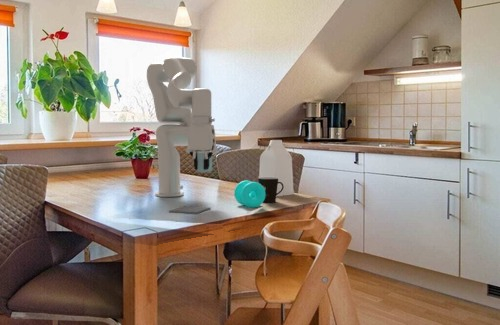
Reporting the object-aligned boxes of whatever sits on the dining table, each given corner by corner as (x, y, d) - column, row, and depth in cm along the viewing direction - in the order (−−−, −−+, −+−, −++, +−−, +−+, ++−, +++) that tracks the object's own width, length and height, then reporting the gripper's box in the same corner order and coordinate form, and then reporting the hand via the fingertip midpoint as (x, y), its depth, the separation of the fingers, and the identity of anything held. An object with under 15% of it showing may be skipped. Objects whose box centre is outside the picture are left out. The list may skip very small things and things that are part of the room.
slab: (205, 170, 189) (205, 150, 188) (212, 171, 188) (211, 150, 187) (197, 172, 182) (197, 151, 182) (204, 172, 181) (204, 151, 181)
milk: (275, 198, 213) (275, 140, 211) (258, 195, 221) (258, 140, 220) (293, 195, 220) (294, 140, 219) (276, 193, 229) (276, 140, 228)
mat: (184, 207, 182) (184, 206, 182) (210, 209, 179) (210, 207, 179) (169, 212, 171) (169, 210, 171) (196, 213, 167) (196, 212, 167)
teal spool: (242, 208, 180) (242, 182, 179) (233, 205, 189) (233, 180, 188) (266, 207, 184) (266, 181, 183) (256, 204, 193) (256, 179, 192)
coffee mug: (254, 201, 202) (254, 177, 201) (272, 200, 205) (272, 177, 205) (266, 204, 191) (266, 179, 191) (285, 203, 195) (285, 179, 194)
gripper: (225, 121, 182) (225, 169, 183) (186, 121, 187) (186, 168, 188) (217, 120, 175) (217, 170, 176) (177, 121, 180) (177, 169, 181)
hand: (201, 168), depth 182 cm, fingers closed on slab, 3 cm apart
